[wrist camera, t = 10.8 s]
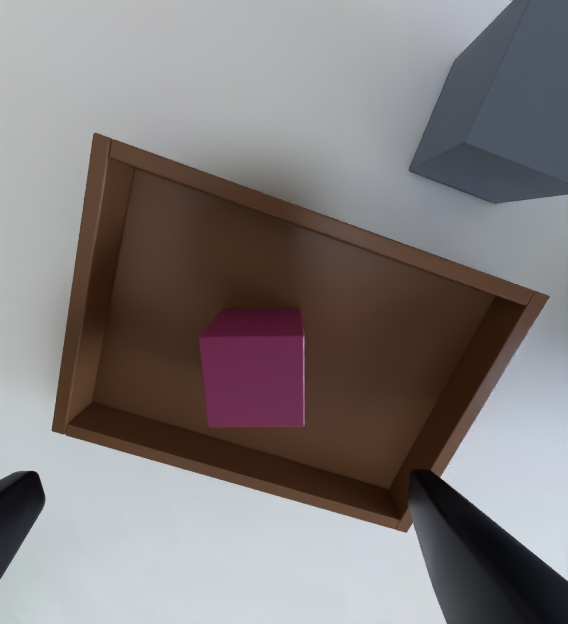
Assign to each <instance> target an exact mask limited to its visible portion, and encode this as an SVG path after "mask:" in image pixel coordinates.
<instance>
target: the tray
mask: <svg viewBox="0 0 568 624" xmlns="http://www.w3.org/2000/svg"><path fill="white" fill-rule="evenodd" d="M548 299H549V296H548V295H545V294H542V293H540V292H537V291H533V290H531V289H528V288H525V287H523V286H520V285H517V284H514V283H512V282H509V281H506V280H503V279H500V278H498V277H495V276H492V275H489V274H487V273H484V272H481V271H478V270H475V269H473V268H470V267H467V266H464V265H462V264H459V263H456V262H453V261H450V260H448V259H445V258H442V257H439V256H437V255H434V254H431V253H428V252H425V251H423V250H420V249H417V248H414V247H412V246H409V245H406V244H403V243H400V242H398V241H395V240H392V239H389V238H387V237H384V236H381V235H378V234H375V233H373V232H370V231H367V230H364V229H362V228H359V227H356V226H353V225H350V224H348V223H345V222H342V221H339V220H337V219H334V218H331V217H328V216H325V215H323V214H320V213H317V212H314V211H312V210H309V209H306V208H303V207H300V206H298V205H295V204H292V203H289V202H287V201H284V200H281V199H278V198H275V197H273V196H270V195H267V194H264V193H262V192H259V191H256V190H253V189H250V188H248V187H245V186H242V185H239V184H237V183H234V182H231V181H228V180H225V179H223V178H220V177H217V176H214V175H212V174H209V173H206V172H203V171H201V170H198V169H195V168H192V167H189V166H187V165H184V164H181V163H178V162H176V161H173V160H170V159H167V158H164V157H162V156H159V155H156V154H153V153H151V152H148V151H145V150H142V149H139V148H137V147H134V146H131V145H128V144H126V143H123V142H120V141H117V140H113V139H111V138H109V137H106V136H103V135H101V134H98V133H94V134H93V141H92V148H91V155H90V162H89V169H88V176H87V184H86V191H85V198H84V205H83V212H82V219H81V226H80V233H79V240H78V247H77V255H76V262H75V269H74V276H73V283H72V290H71V297H70V304H69V311H68V318H67V326H66V333H65V340H64V347H63V354H62V361H61V368H60V375H59V382H58V389H57V396H56V404H55V411H54V418H53V425H52V431H53V432H57V433H60V434H65V435H66V436H70V437H73V438H77V439H80V440H84V441H87V442H91V443H94V444H98V445H101V446H105V447H108V448H112V449H115V450H119V451H122V452H126V453H129V454H133V455H136V456H140V457H143V458H147V459H150V460H154V461H157V462H161V463H164V464H168V465H171V466H175V467H178V468H182V469H185V470H189V471H192V472H196V473H199V474H203V475H206V476H210V477H213V478H217V479H220V480H224V481H227V482H231V483H234V484H238V485H241V486H245V487H249V488H252V489H256V490H259V491H263V492H266V493H270V494H273V495H277V496H280V497H284V498H287V499H291V500H294V501H298V502H301V503H305V504H308V505H312V506H315V507H319V508H322V509H326V510H329V511H333V512H336V513H340V514H343V515H347V516H350V517H354V518H357V519H361V520H364V521H368V522H371V523H375V524H378V525H382V526H385V527H389V528H392V529H396V530H399V531H402V532H407V531H408V530H409V528H410V526H411V525H412V523H413V520H412V517H411V514H410V510H409V507H408V501H407V494H408V485H409V476H410V472H411V470H413V469H429V470H431V471H432V472H434V473H435V474H436V475H437V476H439V477H441V475H442V473H443V472H444V470H445V469H446V467H447V465H448V464H449V462H450V460H451V459H452V457H453V455H454V454H455V452H456V450H457V449H458V447H459V445H460V444H461V442H462V440H463V439H464V437H465V436H466V434H467V432H468V431H469V429H470V427H471V426H472V424H473V422H474V421H475V419H476V417H477V416H478V414H479V412H480V411H481V409H482V407H483V406H484V404H485V403H486V401H487V399H488V398H489V396H490V394H491V393H492V391H493V389H494V388H495V386H496V384H497V383H498V381H499V379H500V378H501V376H502V374H503V373H504V371H505V370H506V368H507V366H508V365H509V363H510V361H511V360H512V358H513V356H514V355H515V353H516V351H517V350H518V348H519V346H520V345H521V343H522V341H523V340H524V338H525V337H526V335H527V333H528V332H529V330H530V328H531V327H532V325H533V323H534V322H535V320H536V318H537V317H538V315H539V313H540V312H541V310H542V308H543V307H544V305H545V304H546V302H547V300H548ZM273 308H300V309H301V315H302V323H303V330H304V379H305V425H304V426H303V427H208V423H207V414H206V405H205V395H204V386H203V376H202V367H201V358H200V348H199V339H198V338H199V336H200V335H201V333H202V332H203V331H204V330H205V329H206V328H207V326H208V325H209V324H210V323H211V322H212V321H213V319H214V318H215V317H216V316H217V315H218V313H219V312H220V311H221V310H222V309H273Z"/></svg>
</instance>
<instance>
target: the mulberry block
mask: <svg viewBox="0 0 568 624" xmlns="http://www.w3.org/2000/svg"><path fill="white" fill-rule="evenodd" d="M198 339H199V348H200V358H201V367H202V376H203V386H204V395H205V405H206V414H207V423H208V427H303V426H304V425H305V379H304V330H303V323H302V315H301V309H300V308H273V309H222V310H221V311H220V312H219V313H218V315H217V316H216V317H215V318H214V319H213V321H212V322H211V323H210V324H209V325H208V326H207V328H206V329H205V330H204V331H203V332H202V333H201V335H200V336H199V338H198Z"/></svg>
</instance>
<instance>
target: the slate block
mask: <svg viewBox="0 0 568 624" xmlns="http://www.w3.org/2000/svg"><path fill="white" fill-rule="evenodd" d="M409 170H410V171H412V172H414V173H417V174H420V175H422V176H425V177H427V178H430V179H433V180H435V181H438V182H441V183H443V184H446V185H449V186H451V187H454V188H456V189H459V190H462V191H464V192H467V193H470V194H472V195H475V196H478V197H480V198H483V199H485V200H488V201H491V202H493V203H503V202H511V201H519V200H527V199H535V198H543V197H551V196H559V195H567V194H568V0H513V1H512V2H511V3H510V4H509V5H508V6H507V7H506V8H505V9H504V10H503V11H502V12H501V13H500V14H499V15H498V16H497V17H496V18H495V19H494V20H493V21H492V23H491V24H490V25H489V26H488V27H487V28H486V29H485V30H484V31H483V32H482V33H481V34H480V35H479V36H478V37H477V38H476V39H475V40H474V41H473V42H472V43H471V44H470V45H469V46H468V47H467V48H466V49H465V50H464V51H463V52H462V53H461V54H460V55H459V56H458V57H457V58H456V60H455V61H454V63H453V66H452V68H451V71H450V73H449V75H448V78H447V80H446V83H445V85H444V87H443V90H442V92H441V95H440V97H439V99H438V102H437V104H436V107H435V109H434V111H433V114H432V116H431V118H430V121H429V123H428V126H427V128H426V130H425V133H424V135H423V138H422V140H421V142H420V145H419V147H418V150H417V152H416V154H415V157H414V159H413V162H412V164H411V166H410V169H409Z"/></svg>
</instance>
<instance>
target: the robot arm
mask: <svg viewBox="0 0 568 624" xmlns="http://www.w3.org/2000/svg"><path fill="white" fill-rule="evenodd" d="M407 501H408V507H409V510H410V514H411V517H412V520H413V524H414V527H415V530H416V534H417V537H418V540H419V544H420V547H421V550H422V554H423V557H424V560H425V563H426V567H427V570H428V573H429V577H430V580H431V583H432V586H433V589H434V591H435V594H436V597H437V599H438V602H439V605H440V607H441V610H442V612H443V615H444V617H445V620H446V622H447V624H568V581H567V580H566V579H564V578H563V577H562V576H561V575H559V574H558V573H557V572H556V571H554V570H553V569H552V568H551V567H550V566H548V565H547V564H546V563H545V562H543V561H542V560H541V559H540V558H538V557H537V556H536V555H535V554H534V553H532V552H531V551H530V550H529V549H527V548H526V547H525V546H524V545H522V544H521V543H520V542H519V541H518V540H516V539H515V538H514V537H513V536H511V535H510V534H509V533H508V532H506V531H505V530H504V529H503V528H501V527H500V526H499V525H498V524H497V523H495V522H494V521H493V520H492V519H490V518H489V517H488V516H487V515H485V514H484V513H483V512H482V511H481V510H479V509H478V508H477V507H476V506H474V505H473V504H472V503H471V502H469V501H468V500H467V499H466V498H465V497H463V496H462V495H461V494H460V493H458V492H457V491H456V490H455V489H453V488H452V487H451V486H450V485H448V484H447V483H446V482H445V481H444V480H442V479H441V478H440V477H439V476H437V475H436V474H435V473H434V472H432V471H431V470H429V469H413V470H411V472H410V476H409V485H408V494H407ZM44 504H45V494H44V490H43V487H42V484H41V480H40V477H39V475H38V473H37V472H35V471H18V472H15V473H12V474H11V475H9V476H7V477H5V478H3V479H1V480H0V579H1V577H2V576H3V574H4V573H5V571H6V569H7V568H8V566H9V564H10V563H11V561H12V559H13V558H14V556H15V554H16V553H17V551H18V549H19V548H20V546H21V544H22V543H23V541H24V539H25V538H26V536H27V534H28V533H29V531H30V529H31V528H32V526H33V524H34V523H35V521H36V519H37V518H38V516H39V514H40V513H41V511H42V509H43V507H44Z"/></svg>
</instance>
